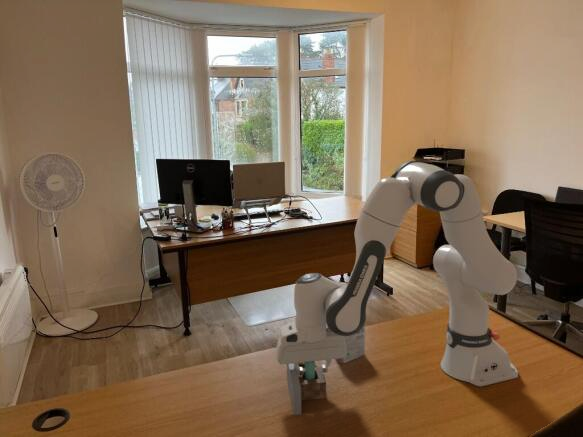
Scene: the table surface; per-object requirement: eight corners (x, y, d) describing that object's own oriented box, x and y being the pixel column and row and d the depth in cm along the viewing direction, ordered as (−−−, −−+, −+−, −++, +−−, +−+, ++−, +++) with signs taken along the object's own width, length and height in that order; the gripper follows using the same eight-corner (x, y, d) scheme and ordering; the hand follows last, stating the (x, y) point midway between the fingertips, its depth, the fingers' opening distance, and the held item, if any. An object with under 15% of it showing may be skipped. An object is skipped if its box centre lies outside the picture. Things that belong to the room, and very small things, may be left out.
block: (320, 381, 131) (320, 366, 130) (326, 397, 124) (326, 382, 123) (294, 383, 131) (294, 368, 129) (298, 400, 123) (298, 384, 122)
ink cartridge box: (354, 348, 150) (355, 309, 147) (365, 354, 146) (366, 315, 143) (332, 357, 145) (332, 317, 142) (343, 364, 140) (343, 323, 137)
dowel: (314, 384, 128) (313, 357, 126) (315, 390, 126) (315, 362, 124) (304, 385, 128) (304, 357, 126) (306, 391, 125) (305, 363, 123)
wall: (293, 376, 134) (292, 352, 133) (301, 414, 117) (300, 388, 115) (286, 376, 134) (286, 353, 132) (293, 414, 117) (293, 388, 115)
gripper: (344, 321, 127) (345, 363, 130) (274, 327, 125) (277, 370, 128) (349, 331, 121) (350, 375, 124) (276, 338, 119) (279, 383, 122)
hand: (312, 372), depth 126 cm, fingers open, 6 cm apart
